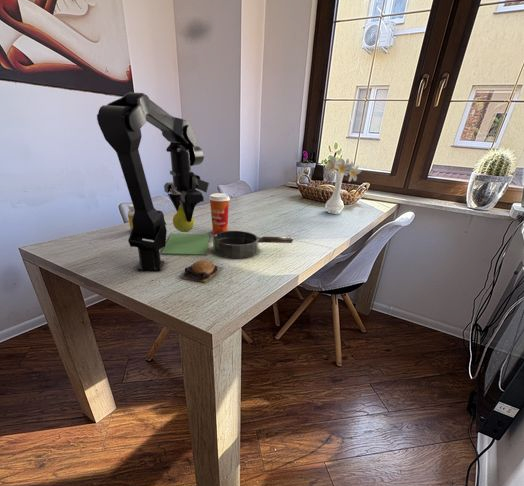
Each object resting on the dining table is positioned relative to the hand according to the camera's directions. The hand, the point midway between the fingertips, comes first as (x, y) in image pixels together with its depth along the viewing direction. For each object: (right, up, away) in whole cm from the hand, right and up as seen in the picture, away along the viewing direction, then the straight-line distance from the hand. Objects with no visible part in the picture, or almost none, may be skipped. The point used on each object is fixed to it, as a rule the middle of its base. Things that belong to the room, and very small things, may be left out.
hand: (185, 219), depth 104 cm
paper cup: (+9, 0, +18) cm, 20 cm away
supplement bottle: (-21, 0, +14) cm, 26 cm away
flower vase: (+63, +21, +55) cm, 86 cm away
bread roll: (+8, -21, -14) cm, 26 cm away
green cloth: (0, -7, +5) cm, 9 cm away
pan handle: (+30, -8, +2) cm, 31 cm away
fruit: (-1, -4, +2) cm, 5 cm away
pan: (+17, -10, +2) cm, 20 cm away
